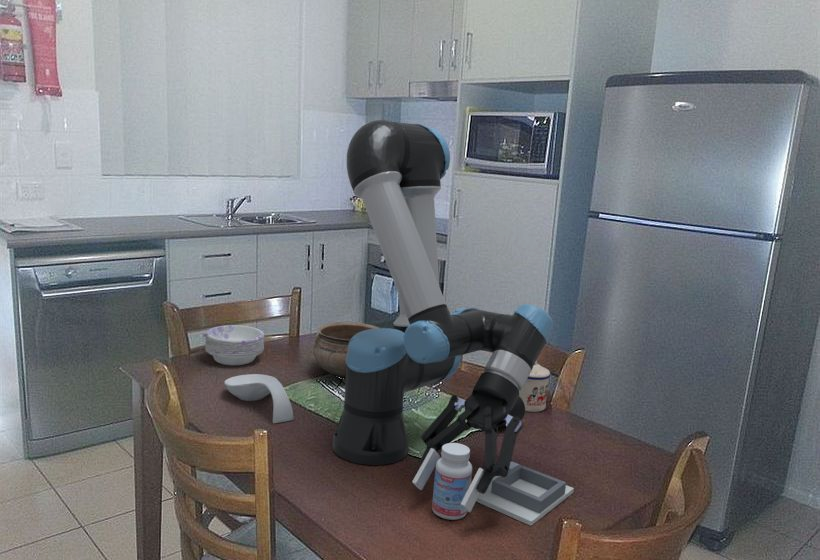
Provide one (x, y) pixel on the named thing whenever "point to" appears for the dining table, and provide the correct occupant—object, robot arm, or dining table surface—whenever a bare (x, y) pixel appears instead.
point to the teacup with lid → (536, 389)
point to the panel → (524, 494)
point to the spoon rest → (262, 393)
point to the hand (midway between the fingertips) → (440, 496)
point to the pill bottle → (451, 481)
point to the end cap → (517, 410)
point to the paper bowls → (234, 344)
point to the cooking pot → (336, 345)
